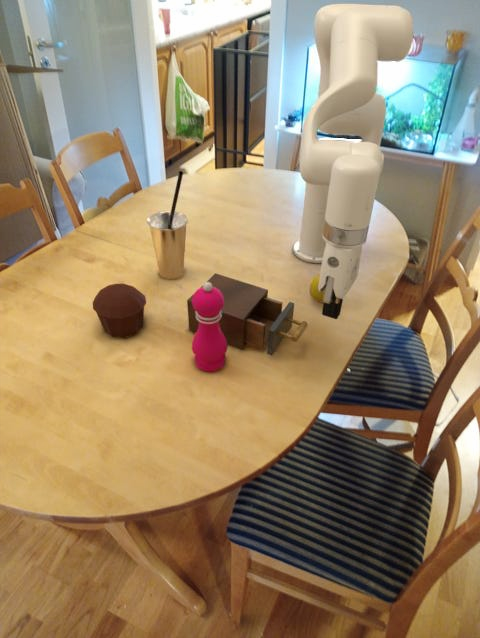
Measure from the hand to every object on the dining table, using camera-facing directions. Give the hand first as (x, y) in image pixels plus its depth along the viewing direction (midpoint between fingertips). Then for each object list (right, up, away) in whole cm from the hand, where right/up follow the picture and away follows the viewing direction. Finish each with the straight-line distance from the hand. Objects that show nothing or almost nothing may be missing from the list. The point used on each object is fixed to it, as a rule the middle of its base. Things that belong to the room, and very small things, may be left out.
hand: (330, 314), depth 92 cm
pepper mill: (-24, -10, +7) cm, 27 cm away
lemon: (+2, +3, +24) cm, 24 cm away
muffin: (-44, -2, +16) cm, 47 cm away
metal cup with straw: (-35, +11, +32) cm, 49 cm away
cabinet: (-21, -2, +16) cm, 26 cm away
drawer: (-12, -4, +12) cm, 18 cm away
